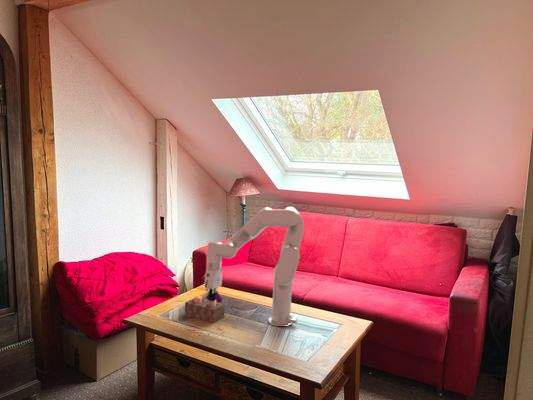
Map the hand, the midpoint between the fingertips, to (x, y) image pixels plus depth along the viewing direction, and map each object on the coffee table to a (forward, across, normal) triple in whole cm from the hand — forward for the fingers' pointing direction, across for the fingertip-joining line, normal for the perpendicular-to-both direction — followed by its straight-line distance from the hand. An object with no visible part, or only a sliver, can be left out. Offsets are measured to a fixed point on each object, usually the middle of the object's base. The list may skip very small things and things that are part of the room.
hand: (211, 300), depth 208 cm
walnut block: (+10, 0, +4) cm, 10 cm away
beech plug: (+7, 0, 0) cm, 7 cm away
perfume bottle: (+10, +18, +10) cm, 23 cm away
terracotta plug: (+7, 0, +9) cm, 11 cm away
